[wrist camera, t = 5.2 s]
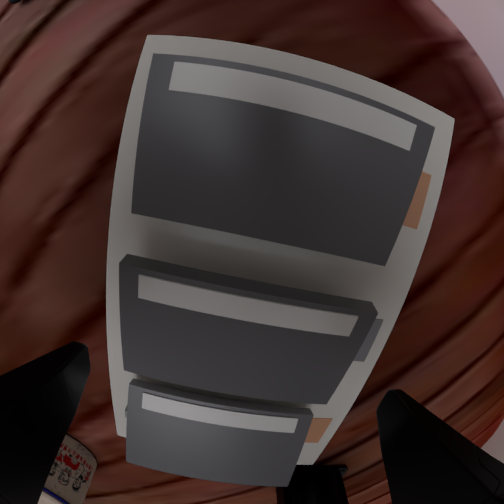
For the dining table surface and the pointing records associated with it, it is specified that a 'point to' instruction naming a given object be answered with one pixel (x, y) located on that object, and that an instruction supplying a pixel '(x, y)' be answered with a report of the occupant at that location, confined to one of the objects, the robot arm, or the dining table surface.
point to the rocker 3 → (213, 436)
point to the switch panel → (266, 252)
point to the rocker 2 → (236, 332)
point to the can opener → (14, 1)
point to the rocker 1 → (275, 157)
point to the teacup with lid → (69, 474)
